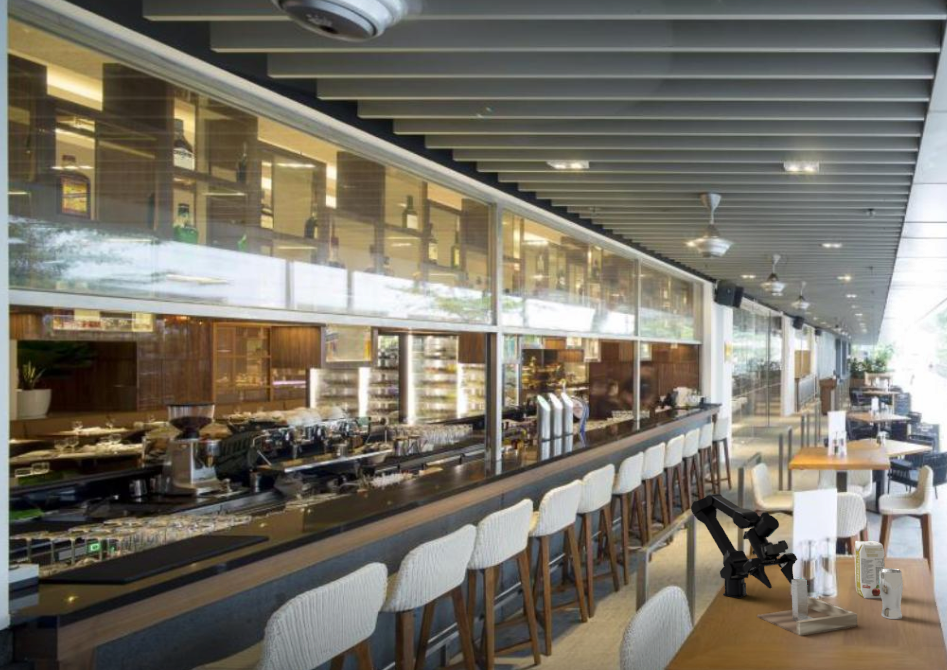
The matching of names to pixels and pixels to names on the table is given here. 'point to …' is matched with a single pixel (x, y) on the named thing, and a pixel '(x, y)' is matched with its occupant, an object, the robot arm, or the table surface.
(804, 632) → the corner board
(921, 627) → the table surface
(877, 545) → the juice carton
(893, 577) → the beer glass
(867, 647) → the table surface
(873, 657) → the table surface
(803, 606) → the aluminium bracket
